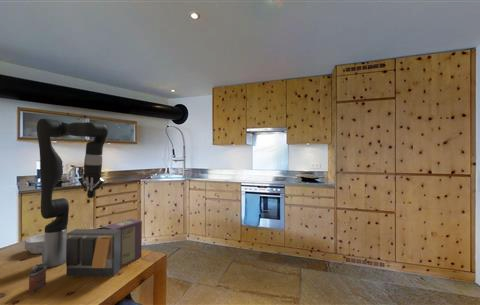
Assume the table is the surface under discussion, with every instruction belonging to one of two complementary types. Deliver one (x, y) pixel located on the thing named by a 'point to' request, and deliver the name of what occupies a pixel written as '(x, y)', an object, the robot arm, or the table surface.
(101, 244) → the panel
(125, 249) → the box
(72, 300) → the table surface
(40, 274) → the lighter
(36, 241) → the paper bowls
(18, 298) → the table surface
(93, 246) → the box
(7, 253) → the table surface
